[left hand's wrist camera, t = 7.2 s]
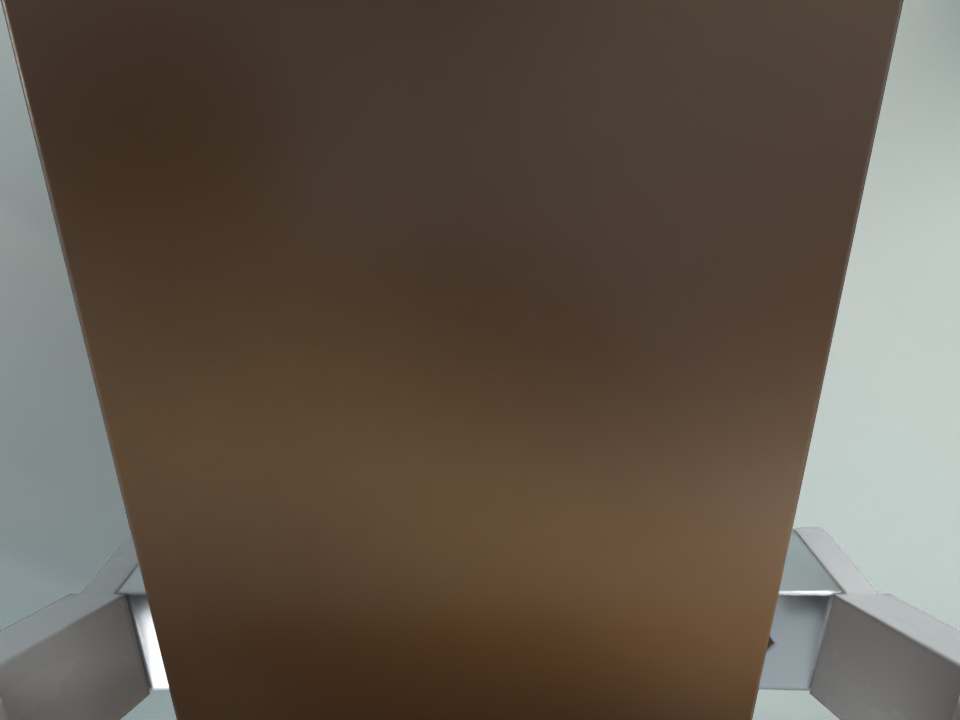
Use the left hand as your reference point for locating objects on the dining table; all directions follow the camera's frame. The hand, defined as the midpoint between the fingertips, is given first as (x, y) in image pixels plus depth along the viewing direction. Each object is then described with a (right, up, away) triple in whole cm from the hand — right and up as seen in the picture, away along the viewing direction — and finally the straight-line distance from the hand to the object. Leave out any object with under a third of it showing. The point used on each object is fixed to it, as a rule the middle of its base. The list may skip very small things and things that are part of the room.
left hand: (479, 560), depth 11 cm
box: (0, +9, +6) cm, 11 cm away
